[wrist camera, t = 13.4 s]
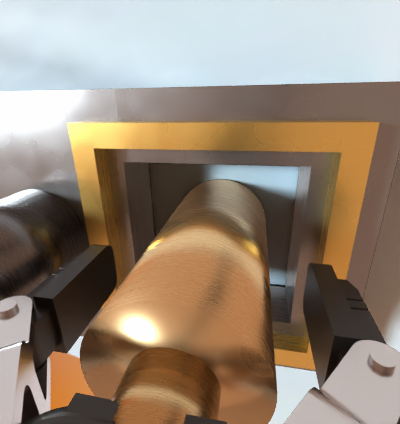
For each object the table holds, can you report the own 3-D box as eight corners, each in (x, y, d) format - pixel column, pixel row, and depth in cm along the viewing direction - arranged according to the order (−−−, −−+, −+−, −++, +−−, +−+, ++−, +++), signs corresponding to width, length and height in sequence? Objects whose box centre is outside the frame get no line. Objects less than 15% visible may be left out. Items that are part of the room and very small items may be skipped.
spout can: (269, 181, 15) (302, 424, 4) (262, 262, 17) (271, 584, 6) (176, 177, 16) (-15, 366, 5) (180, 255, 17) (50, 520, 6)
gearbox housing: (381, 85, 12) (564, 65, 5) (330, 332, 17) (382, 500, 10) (-9, 94, 16) (-237, 90, 8) (46, 296, 21) (-66, 401, 14)
